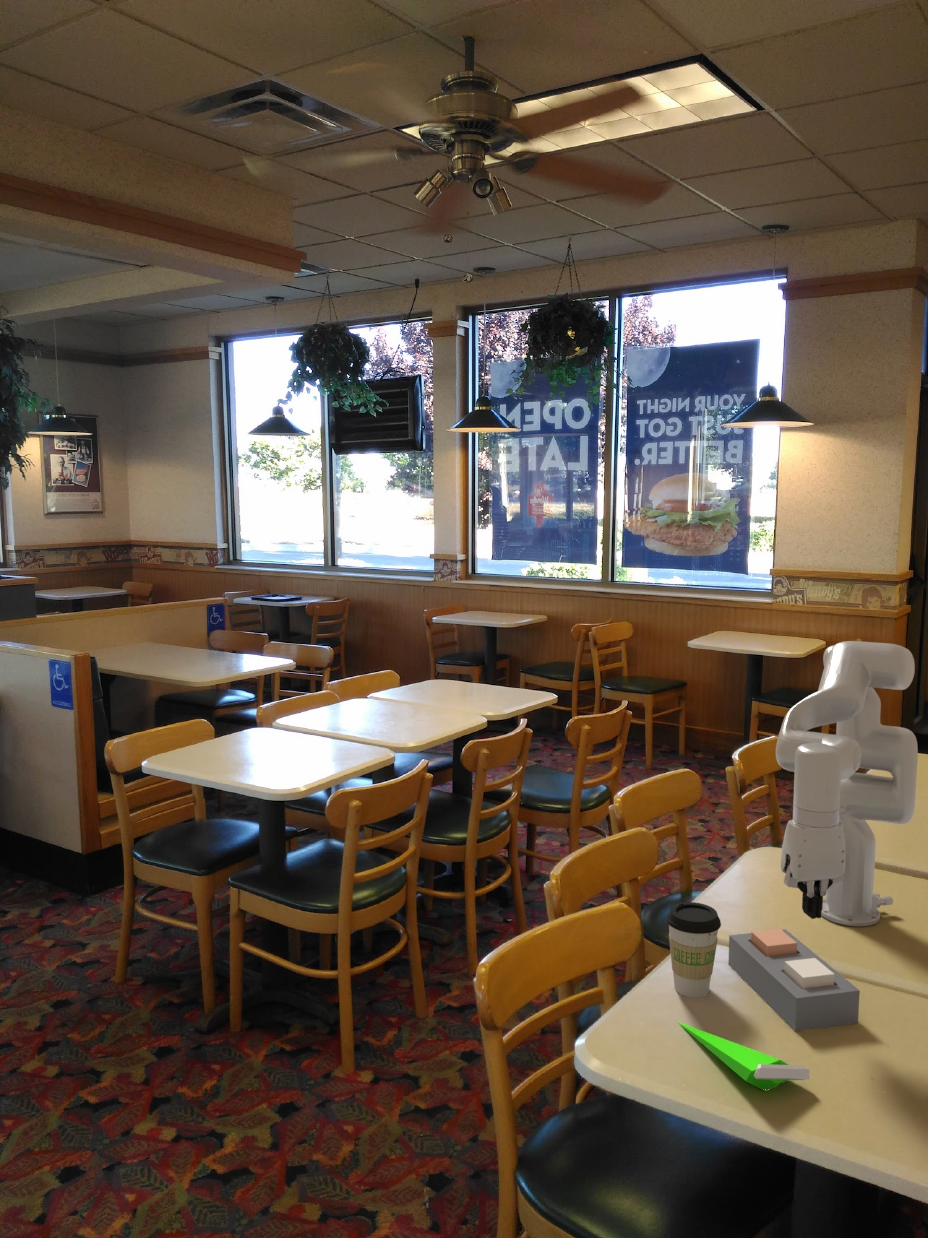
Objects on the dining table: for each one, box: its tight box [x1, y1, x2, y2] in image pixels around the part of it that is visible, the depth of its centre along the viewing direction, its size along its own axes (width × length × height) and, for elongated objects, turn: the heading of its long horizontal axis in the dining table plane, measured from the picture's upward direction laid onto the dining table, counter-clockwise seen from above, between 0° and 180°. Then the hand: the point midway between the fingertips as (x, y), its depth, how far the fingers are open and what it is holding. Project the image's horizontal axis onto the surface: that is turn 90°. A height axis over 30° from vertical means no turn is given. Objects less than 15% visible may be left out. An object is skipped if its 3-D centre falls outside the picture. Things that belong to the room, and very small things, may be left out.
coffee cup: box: [665, 901, 722, 998], centre depth 177 cm, size 10×10×15 cm
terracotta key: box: [750, 928, 797, 957], centre depth 181 cm, size 6×6×6 cm
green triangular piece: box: [677, 1021, 810, 1091], centre depth 156 cm, size 11×5×25 cm
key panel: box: [728, 929, 860, 1032], centre depth 176 cm, size 12×24×6 cm, turn 12°
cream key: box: [784, 958, 834, 989], centre depth 170 cm, size 6×6×6 cm
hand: (811, 915), depth 169 cm, fingers closed
